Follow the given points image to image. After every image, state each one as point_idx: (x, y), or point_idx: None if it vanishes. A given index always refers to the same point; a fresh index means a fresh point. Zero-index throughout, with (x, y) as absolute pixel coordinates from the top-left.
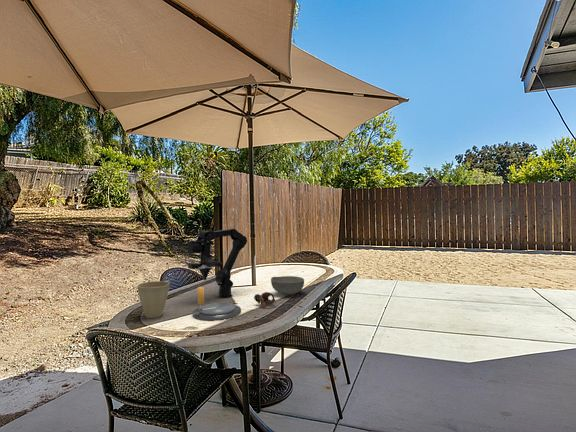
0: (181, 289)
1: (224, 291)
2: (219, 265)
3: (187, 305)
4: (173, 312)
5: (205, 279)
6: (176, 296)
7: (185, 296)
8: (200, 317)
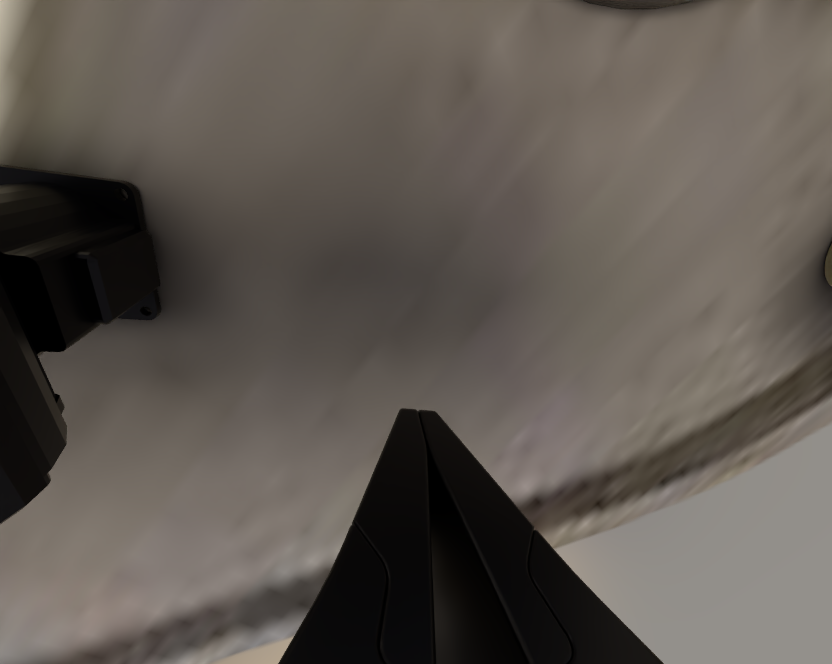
0: (300, 621)
1: (52, 223)
2: None
3: (570, 277)
4: (781, 190)
5: (417, 414)
6: None
7: None
8: None
